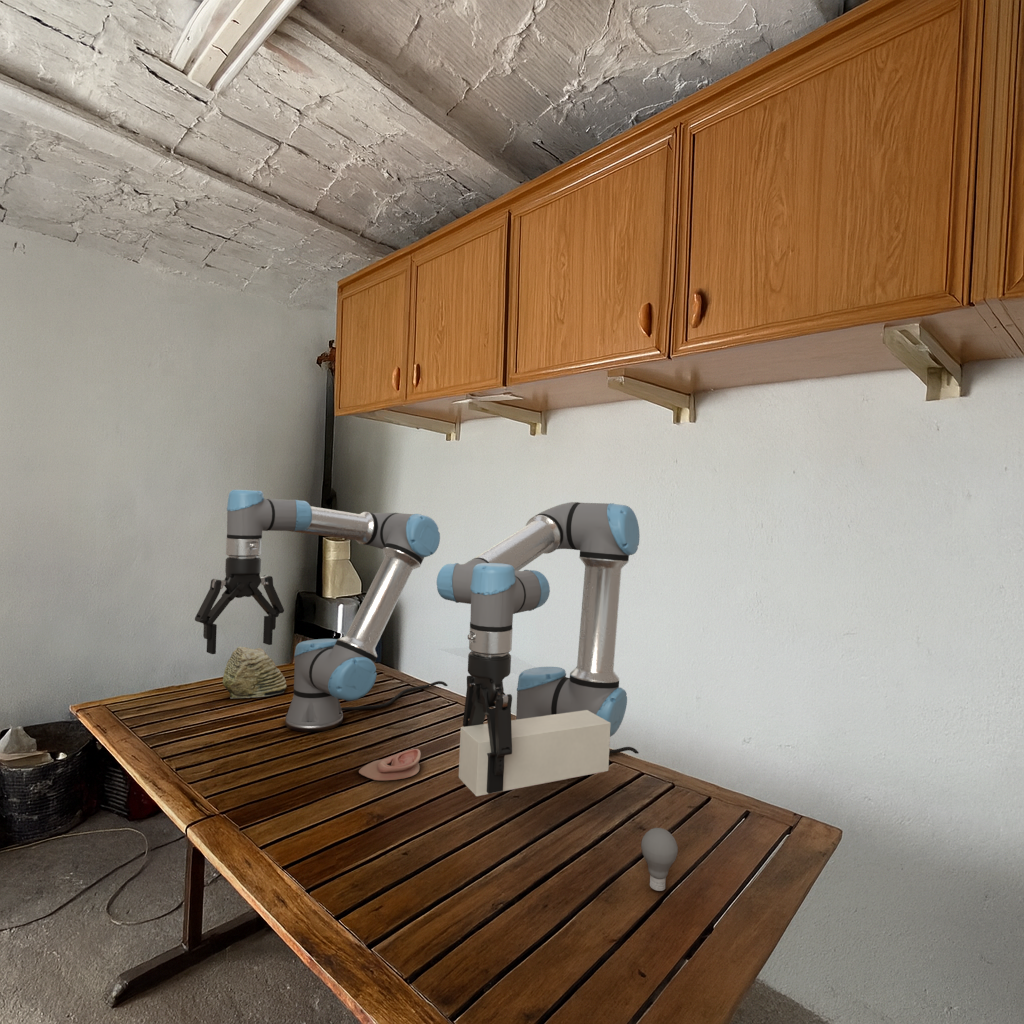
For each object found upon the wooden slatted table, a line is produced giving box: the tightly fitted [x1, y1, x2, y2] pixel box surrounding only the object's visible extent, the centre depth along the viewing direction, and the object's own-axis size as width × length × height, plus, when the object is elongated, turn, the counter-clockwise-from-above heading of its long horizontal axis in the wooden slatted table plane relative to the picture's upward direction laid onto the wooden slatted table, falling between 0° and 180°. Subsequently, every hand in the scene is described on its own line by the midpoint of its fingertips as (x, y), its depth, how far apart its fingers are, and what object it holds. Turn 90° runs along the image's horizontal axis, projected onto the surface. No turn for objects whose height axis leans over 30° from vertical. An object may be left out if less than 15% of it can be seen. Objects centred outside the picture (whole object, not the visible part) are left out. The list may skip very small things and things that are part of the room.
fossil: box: [222, 646, 288, 699], centre depth 198 cm, size 9×18×15 cm, turn 132°
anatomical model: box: [358, 748, 422, 782], centre depth 147 cm, size 13×4×12 cm
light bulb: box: [640, 827, 679, 892], centre depth 106 cm, size 6×6×10 cm
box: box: [458, 710, 611, 797], centre depth 116 cm, size 27×8×9 cm, turn 117°
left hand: (240, 648), depth 146 cm, fingers open, 13 cm apart
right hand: (484, 780), depth 111 cm, fingers closed on box, 8 cm apart
